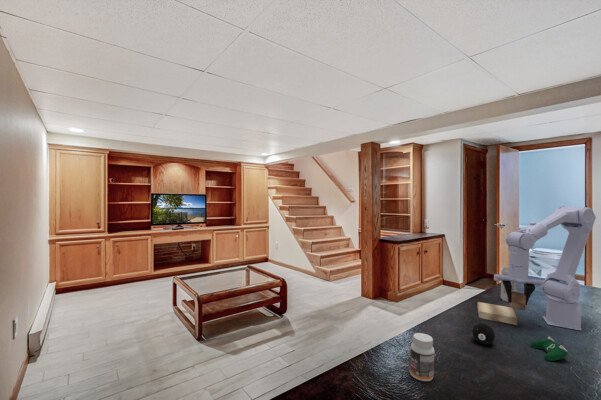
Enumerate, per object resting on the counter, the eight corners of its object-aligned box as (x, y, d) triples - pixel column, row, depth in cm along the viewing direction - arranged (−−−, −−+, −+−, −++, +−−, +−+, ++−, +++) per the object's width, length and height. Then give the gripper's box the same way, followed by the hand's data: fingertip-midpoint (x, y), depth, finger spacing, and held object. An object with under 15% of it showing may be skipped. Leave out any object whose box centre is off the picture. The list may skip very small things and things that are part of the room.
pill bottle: (405, 369, 78) (406, 331, 78) (426, 368, 79) (427, 331, 79) (415, 382, 73) (417, 342, 73) (438, 382, 73) (439, 342, 73)
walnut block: (522, 306, 108) (523, 293, 108) (525, 310, 105) (525, 296, 105) (509, 304, 110) (510, 291, 110) (511, 308, 107) (512, 294, 106)
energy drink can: (515, 300, 136) (517, 267, 136) (517, 304, 131) (518, 270, 130) (500, 297, 139) (501, 265, 139) (500, 301, 134) (502, 268, 133)
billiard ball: (470, 343, 94) (471, 324, 94) (473, 336, 98) (474, 318, 98) (492, 350, 90) (493, 330, 90) (495, 342, 94) (496, 324, 94)
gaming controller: (555, 369, 84) (574, 356, 83) (545, 358, 84) (563, 345, 84) (537, 352, 93) (553, 341, 92) (527, 342, 94) (543, 331, 93)
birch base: (512, 315, 119) (512, 307, 119) (516, 326, 109) (517, 318, 109) (477, 308, 125) (477, 301, 125) (478, 318, 114) (479, 311, 114)
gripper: (496, 265, 107) (494, 302, 107) (547, 270, 100) (545, 310, 101) (493, 261, 113) (492, 296, 114) (541, 266, 107) (540, 304, 107)
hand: (517, 303), depth 108 cm, fingers closed on walnut block, 4 cm apart
